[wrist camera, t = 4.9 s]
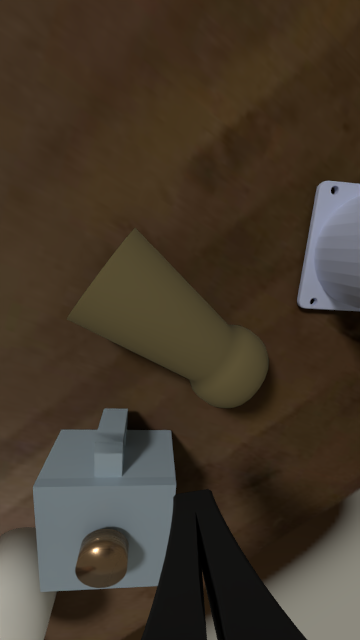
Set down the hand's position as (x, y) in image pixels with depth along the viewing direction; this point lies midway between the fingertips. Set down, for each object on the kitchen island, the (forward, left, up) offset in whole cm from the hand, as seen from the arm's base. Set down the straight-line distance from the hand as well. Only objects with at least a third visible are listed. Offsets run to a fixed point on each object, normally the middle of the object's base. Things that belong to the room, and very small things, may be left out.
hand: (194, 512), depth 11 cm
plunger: (+4, +8, -10) cm, 13 cm away
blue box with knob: (+4, +7, -10) cm, 13 cm away
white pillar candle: (+11, +16, -10) cm, 22 cm away
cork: (+5, -8, -7) cm, 12 cm away
